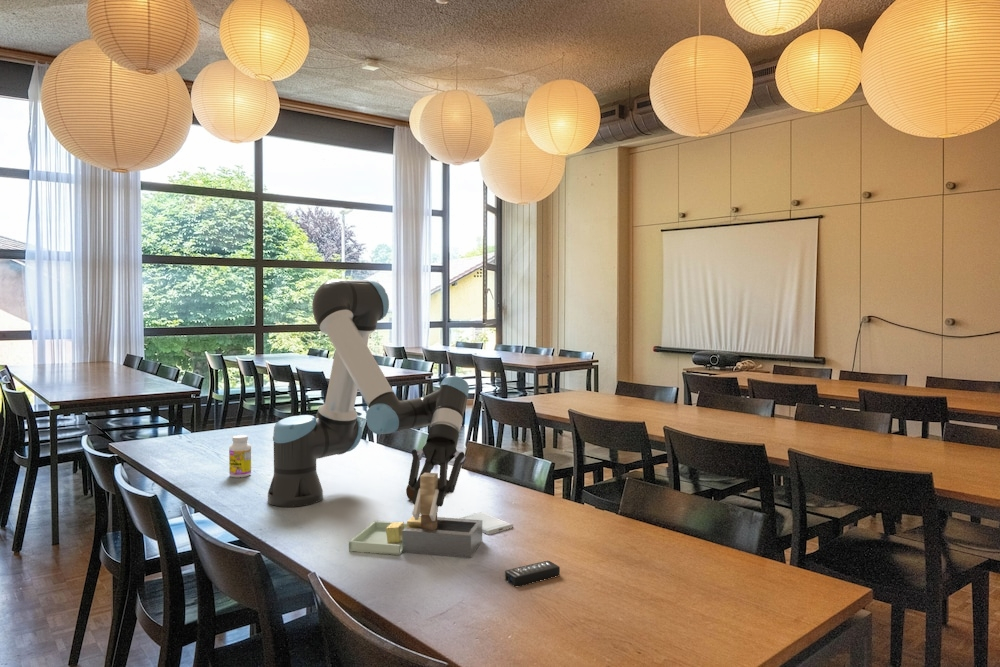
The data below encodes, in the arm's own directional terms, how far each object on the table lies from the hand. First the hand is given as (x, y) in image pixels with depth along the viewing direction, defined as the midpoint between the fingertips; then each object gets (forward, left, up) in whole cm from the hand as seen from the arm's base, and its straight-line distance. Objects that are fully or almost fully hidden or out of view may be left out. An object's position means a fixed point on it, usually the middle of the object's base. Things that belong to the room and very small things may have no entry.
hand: (423, 517), depth 154 cm
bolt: (-13, +44, -8) cm, 47 cm away
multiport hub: (+26, -9, -9) cm, 29 cm away
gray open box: (+3, +4, -8) cm, 10 cm away
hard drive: (+9, +22, -9) cm, 25 cm away
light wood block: (-7, +4, -5) cm, 10 cm away
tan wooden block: (-3, +4, -5) cm, 7 cm away
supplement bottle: (-80, +52, -8) cm, 96 cm away
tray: (-11, +4, -8) cm, 14 cm away
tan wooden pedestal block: (0, +4, -4) cm, 6 cm away
